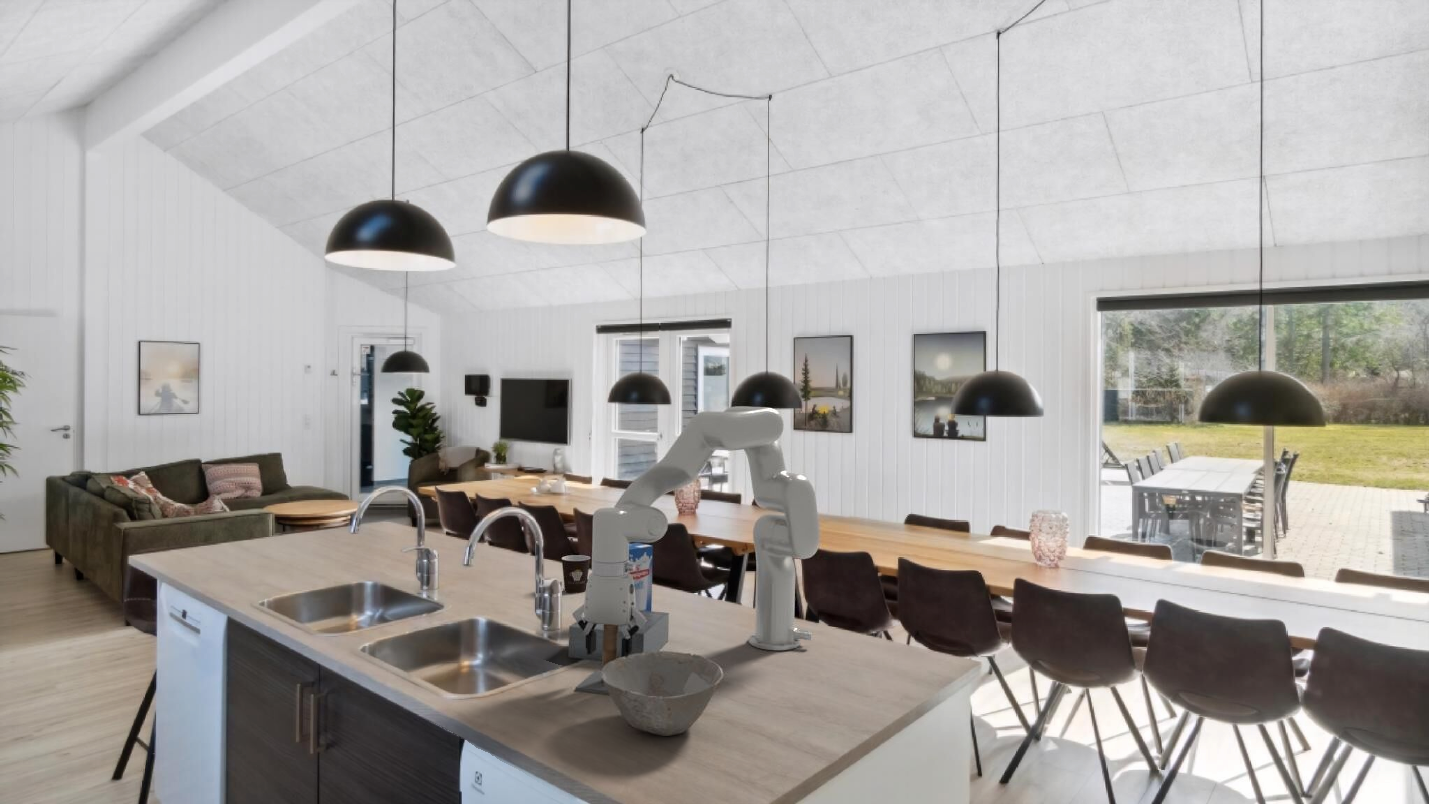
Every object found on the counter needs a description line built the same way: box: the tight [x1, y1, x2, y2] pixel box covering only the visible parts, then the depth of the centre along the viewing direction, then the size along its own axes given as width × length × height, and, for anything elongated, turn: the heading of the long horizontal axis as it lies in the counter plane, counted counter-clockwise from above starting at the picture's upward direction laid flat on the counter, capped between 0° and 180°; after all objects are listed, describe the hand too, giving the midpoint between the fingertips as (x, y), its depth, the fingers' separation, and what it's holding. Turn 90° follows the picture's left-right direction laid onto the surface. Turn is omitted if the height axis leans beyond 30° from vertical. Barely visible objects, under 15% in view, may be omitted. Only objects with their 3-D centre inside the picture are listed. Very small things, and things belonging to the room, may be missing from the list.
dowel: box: [601, 625, 618, 683], centre depth 161 cm, size 3×3×14 cm
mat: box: [575, 670, 610, 696], centre depth 161 cm, size 10×10×1 cm
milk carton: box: [628, 542, 654, 611], centre depth 207 cm, size 10×6×20 cm, turn 136°
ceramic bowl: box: [600, 650, 724, 737], centre depth 141 cm, size 22×23×10 cm
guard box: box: [568, 610, 670, 662], centre depth 184 cm, size 18×18×7 cm
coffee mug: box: [561, 554, 592, 594], centre depth 238 cm, size 12×9×10 cm
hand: (608, 653), depth 161 cm, fingers open, 7 cm apart
